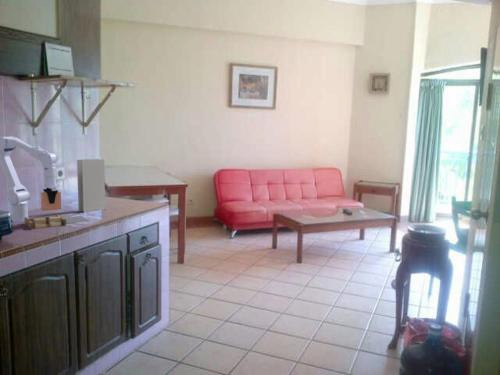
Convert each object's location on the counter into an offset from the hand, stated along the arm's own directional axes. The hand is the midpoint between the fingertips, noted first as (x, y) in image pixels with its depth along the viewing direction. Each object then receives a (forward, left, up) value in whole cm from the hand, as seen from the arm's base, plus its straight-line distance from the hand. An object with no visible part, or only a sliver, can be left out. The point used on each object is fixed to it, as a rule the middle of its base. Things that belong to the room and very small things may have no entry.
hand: (51, 203), depth 232 cm
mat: (0, +11, -11) cm, 15 cm away
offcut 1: (+8, -7, -10) cm, 15 cm away
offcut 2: (+8, 0, -10) cm, 13 cm away
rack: (+3, -4, -11) cm, 12 cm away
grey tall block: (-22, +28, -11) cm, 37 cm away
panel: (0, 0, -3) cm, 3 cm away
